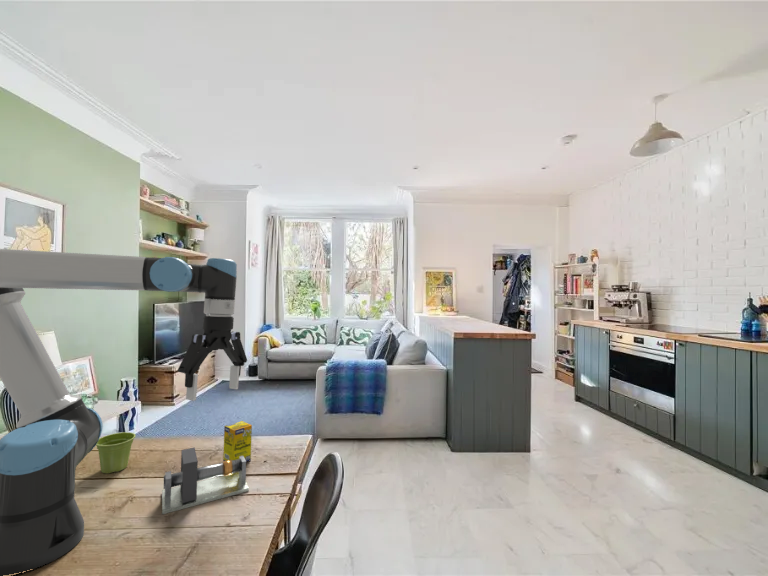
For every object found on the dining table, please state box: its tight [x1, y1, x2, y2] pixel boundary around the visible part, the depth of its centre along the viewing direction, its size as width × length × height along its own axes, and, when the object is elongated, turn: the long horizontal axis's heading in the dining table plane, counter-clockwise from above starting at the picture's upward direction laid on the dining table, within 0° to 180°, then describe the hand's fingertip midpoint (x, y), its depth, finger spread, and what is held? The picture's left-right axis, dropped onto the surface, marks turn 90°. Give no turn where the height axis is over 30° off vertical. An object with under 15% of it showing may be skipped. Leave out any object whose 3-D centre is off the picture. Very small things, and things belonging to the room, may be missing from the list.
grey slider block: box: [179, 447, 199, 503], centre depth 88 cm, size 3×9×9 cm, turn 32°
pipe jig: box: [161, 456, 250, 515], centre depth 90 cm, size 19×10×7 cm, turn 123°
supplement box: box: [222, 420, 253, 463], centre depth 107 cm, size 6×6×11 cm
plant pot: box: [95, 431, 137, 474], centre depth 102 cm, size 9×9×9 cm
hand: (213, 394), depth 95 cm, fingers open, 13 cm apart
